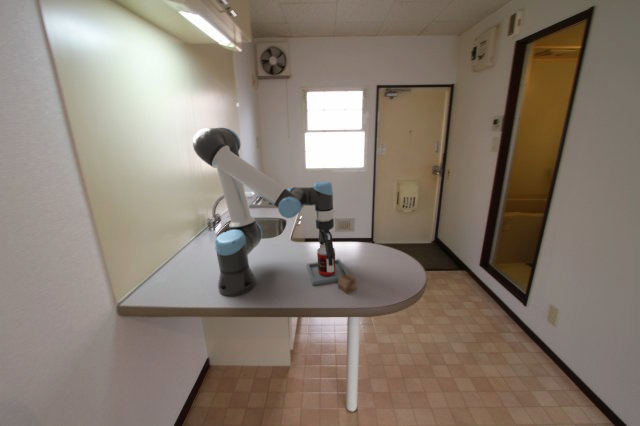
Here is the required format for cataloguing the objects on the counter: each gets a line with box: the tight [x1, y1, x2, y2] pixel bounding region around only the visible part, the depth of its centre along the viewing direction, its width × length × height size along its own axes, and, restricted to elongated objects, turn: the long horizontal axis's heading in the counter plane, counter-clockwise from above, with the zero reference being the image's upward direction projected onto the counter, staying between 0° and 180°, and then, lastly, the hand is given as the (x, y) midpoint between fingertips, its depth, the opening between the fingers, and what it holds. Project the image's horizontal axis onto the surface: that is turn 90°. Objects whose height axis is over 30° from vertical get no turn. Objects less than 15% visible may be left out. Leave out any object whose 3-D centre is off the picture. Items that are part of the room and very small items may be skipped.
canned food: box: [316, 246, 336, 276], centre depth 122 cm, size 8×8×11 cm
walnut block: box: [337, 273, 357, 295], centre depth 110 cm, size 5×5×5 cm
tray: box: [305, 258, 349, 287], centre depth 123 cm, size 16×16×2 cm
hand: (326, 264), depth 122 cm, fingers open, 13 cm apart
